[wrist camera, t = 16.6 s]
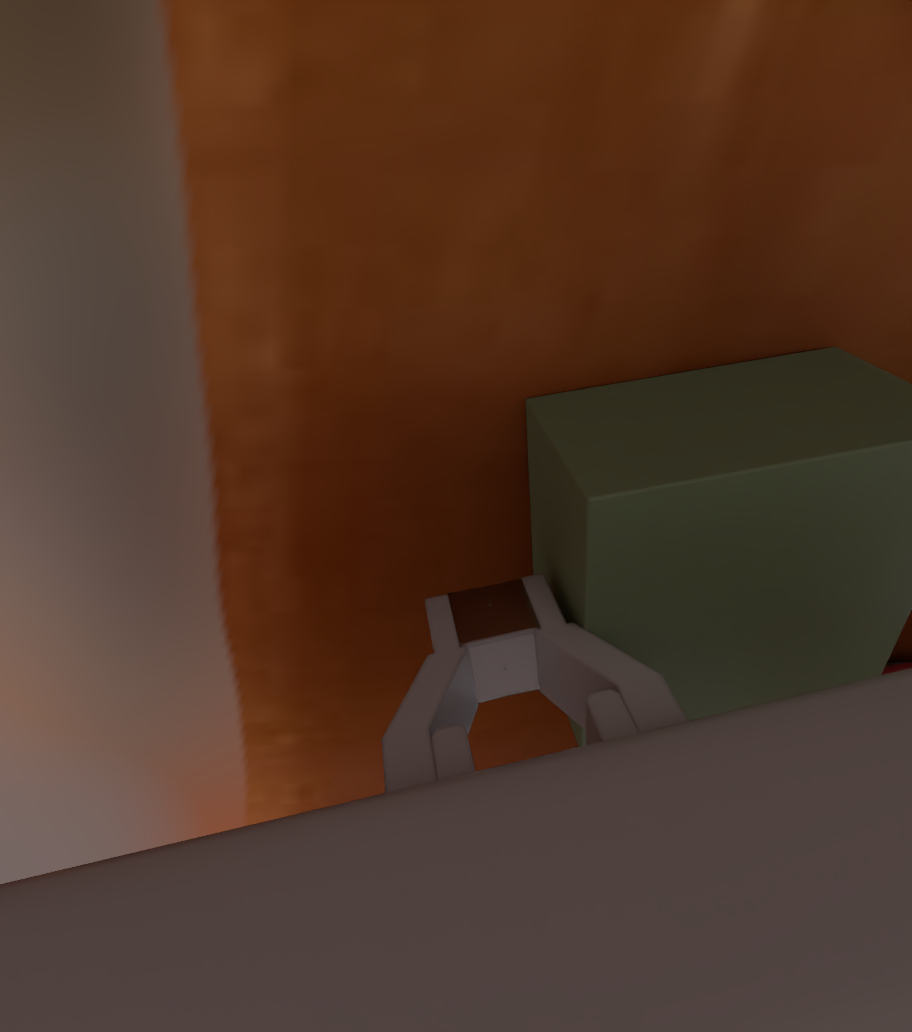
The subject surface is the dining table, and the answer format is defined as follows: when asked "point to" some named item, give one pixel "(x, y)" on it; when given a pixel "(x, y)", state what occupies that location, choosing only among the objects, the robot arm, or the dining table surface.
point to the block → (731, 523)
